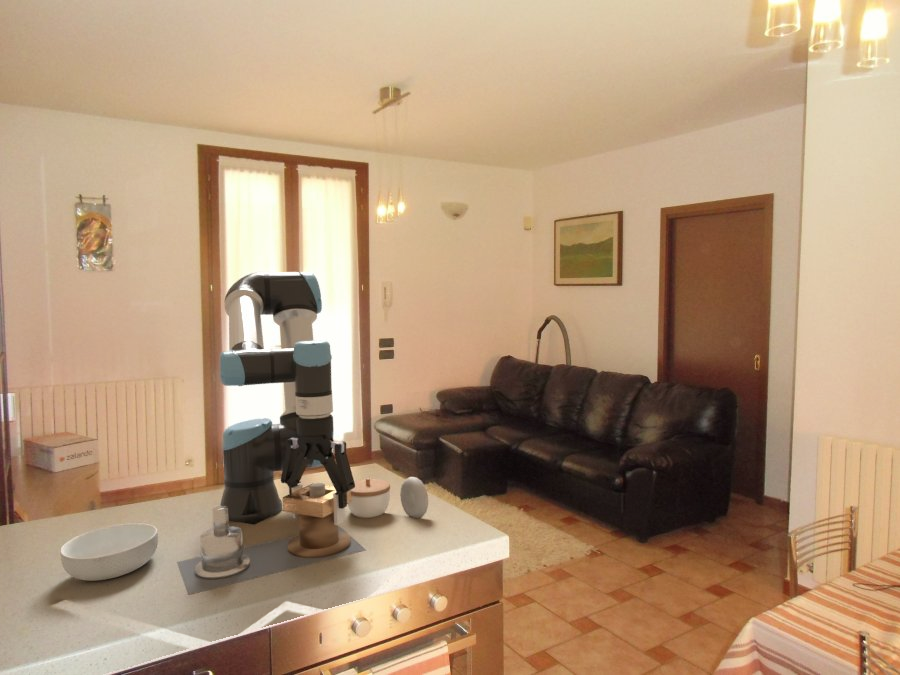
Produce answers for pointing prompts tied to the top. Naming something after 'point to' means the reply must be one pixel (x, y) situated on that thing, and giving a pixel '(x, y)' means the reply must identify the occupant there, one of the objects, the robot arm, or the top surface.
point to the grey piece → (414, 497)
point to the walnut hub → (318, 533)
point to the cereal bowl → (109, 551)
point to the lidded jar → (369, 497)
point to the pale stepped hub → (221, 549)
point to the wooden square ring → (311, 502)
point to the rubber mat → (258, 563)
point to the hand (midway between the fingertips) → (318, 519)
